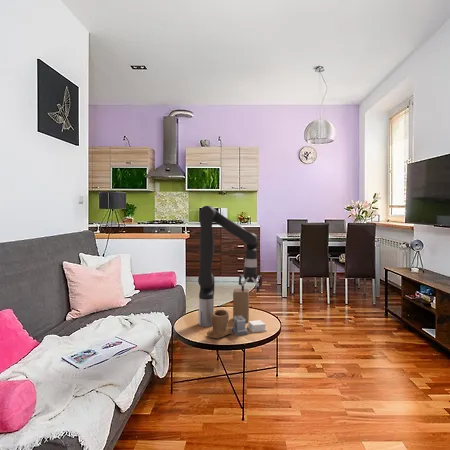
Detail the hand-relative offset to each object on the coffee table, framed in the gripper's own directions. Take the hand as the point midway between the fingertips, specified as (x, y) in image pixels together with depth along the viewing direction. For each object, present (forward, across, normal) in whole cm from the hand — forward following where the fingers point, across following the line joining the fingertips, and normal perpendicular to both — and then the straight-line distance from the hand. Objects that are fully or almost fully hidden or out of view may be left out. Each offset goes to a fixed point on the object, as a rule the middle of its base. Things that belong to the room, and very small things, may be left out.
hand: (250, 291), depth 215 cm
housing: (+20, -6, -9) cm, 23 cm away
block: (+23, -6, +14) cm, 27 cm away
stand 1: (+22, -6, -9) cm, 25 cm away
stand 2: (+22, +5, -2) cm, 23 cm away
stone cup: (+23, -16, -15) cm, 32 cm away
